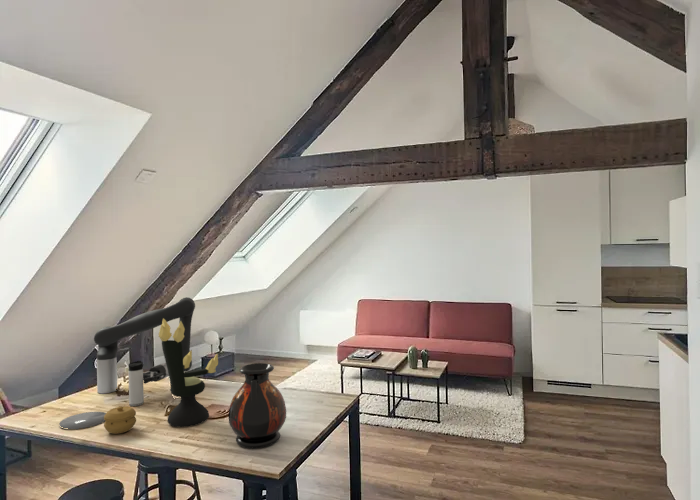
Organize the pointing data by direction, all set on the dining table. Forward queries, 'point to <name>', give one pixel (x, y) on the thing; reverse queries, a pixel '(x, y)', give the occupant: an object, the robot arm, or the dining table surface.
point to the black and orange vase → (257, 408)
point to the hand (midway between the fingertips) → (136, 380)
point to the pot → (120, 419)
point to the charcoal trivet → (83, 420)
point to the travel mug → (136, 383)
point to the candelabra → (184, 379)
